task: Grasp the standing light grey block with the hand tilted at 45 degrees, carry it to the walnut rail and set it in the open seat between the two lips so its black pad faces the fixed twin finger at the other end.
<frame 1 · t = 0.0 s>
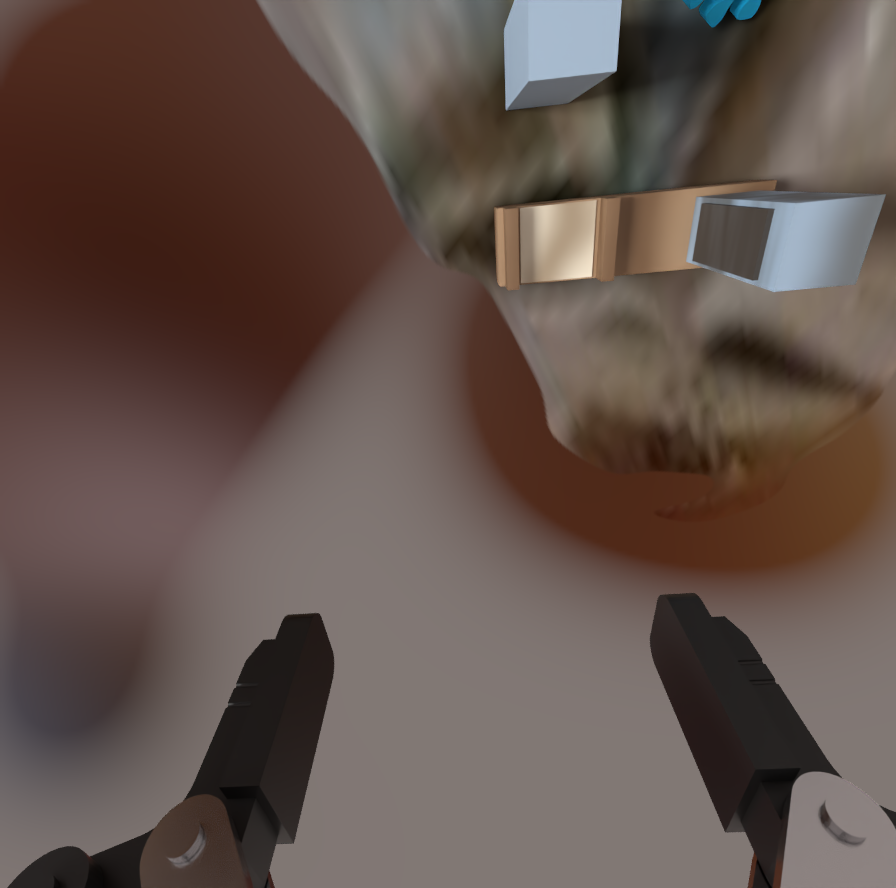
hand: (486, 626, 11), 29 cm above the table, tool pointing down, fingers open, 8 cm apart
light grey block: (536, 67, 29), on the table
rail: (619, 232, 33), on the table
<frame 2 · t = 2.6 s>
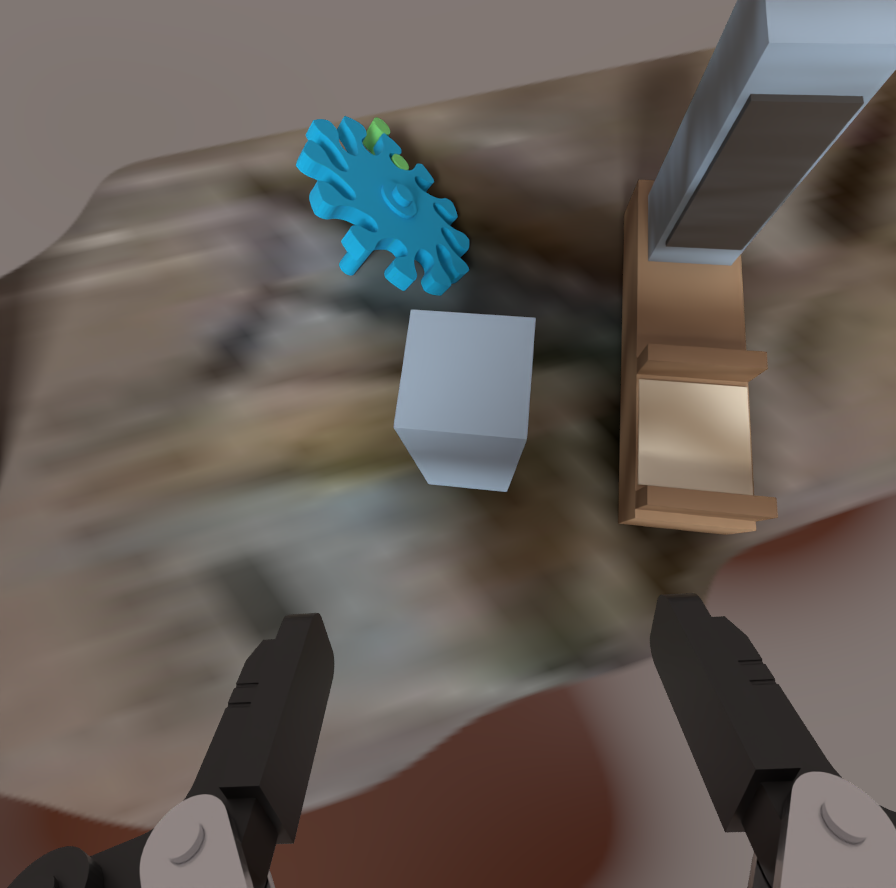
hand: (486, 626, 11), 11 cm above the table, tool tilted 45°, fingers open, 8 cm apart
light grey block: (471, 449, 24), on the table
gear: (403, 250, 28), on the table
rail: (669, 358, 24), on the table
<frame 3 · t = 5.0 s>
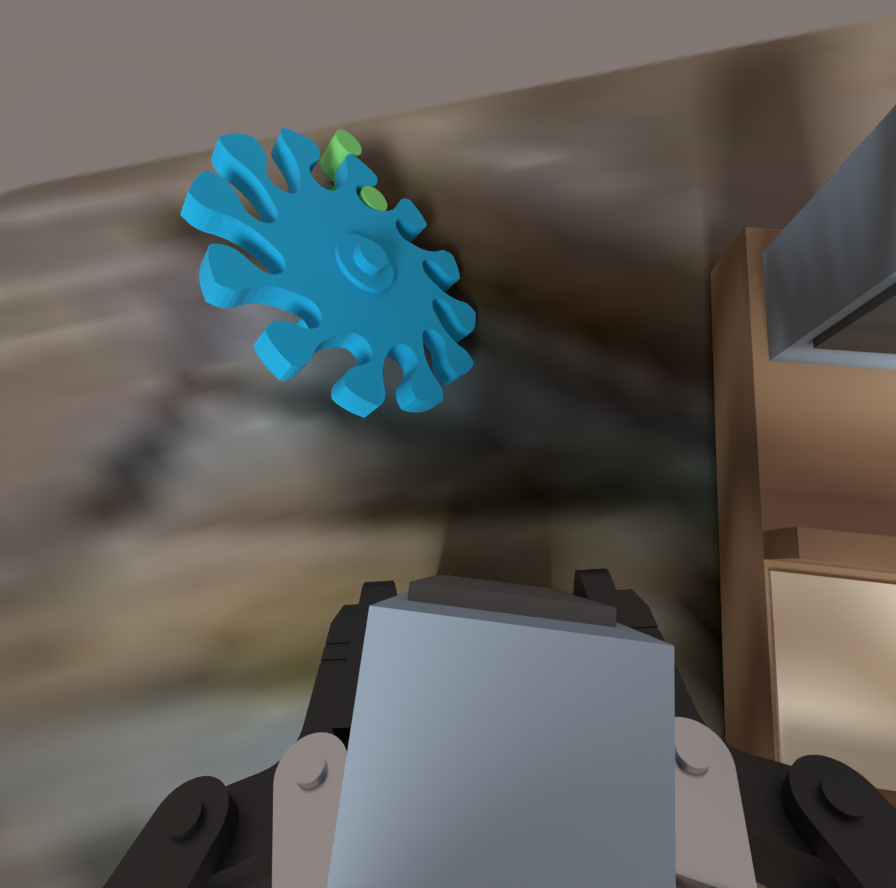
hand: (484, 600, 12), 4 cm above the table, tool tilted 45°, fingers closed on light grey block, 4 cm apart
light grey block: (487, 651, 15), on the table, touching gripper
gear: (379, 322, 19), on the table
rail: (793, 503, 16), on the table
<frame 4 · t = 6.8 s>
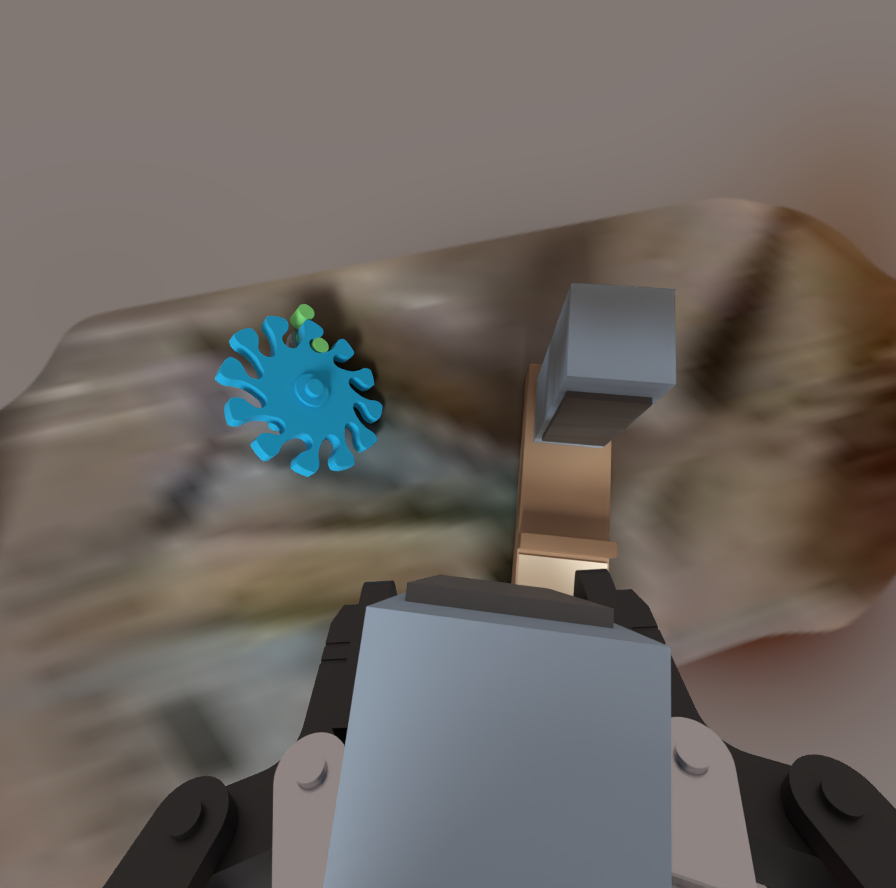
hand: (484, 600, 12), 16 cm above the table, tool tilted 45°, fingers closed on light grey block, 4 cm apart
light grey block: (485, 651, 15), point 12 cm above the table, touching gripper
gear: (327, 407, 31), on the table
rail: (556, 517, 28), on the table
when the fingers open (8 cm above the table, at t = 9.0 s): light grey block drops 1 cm, resting on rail.
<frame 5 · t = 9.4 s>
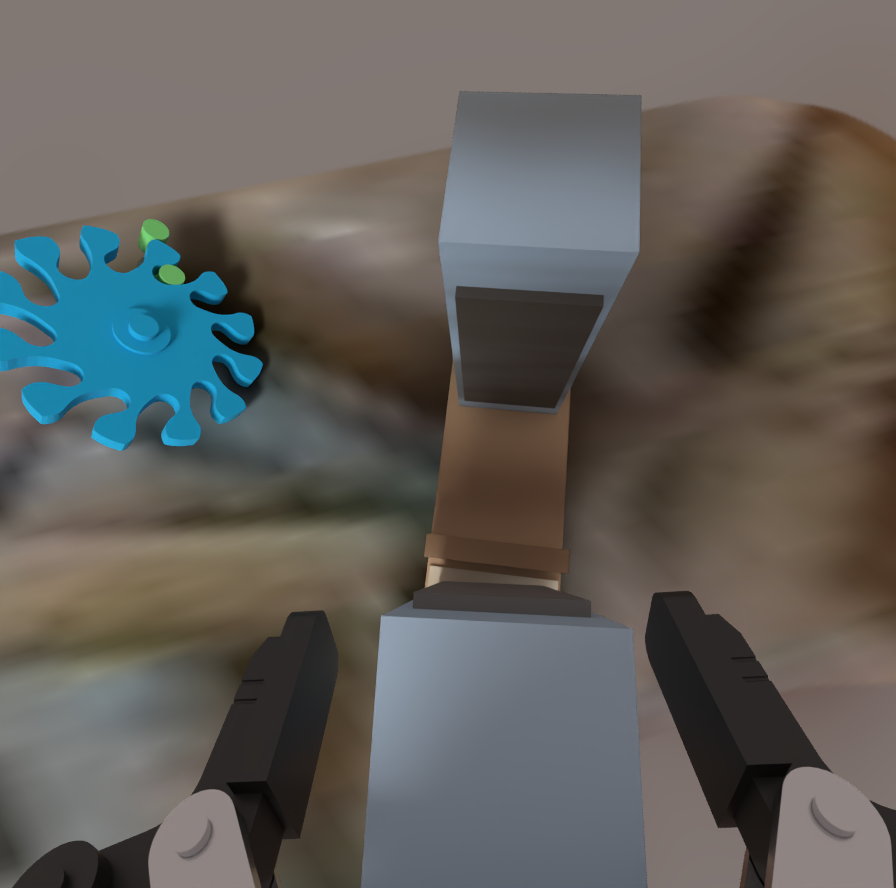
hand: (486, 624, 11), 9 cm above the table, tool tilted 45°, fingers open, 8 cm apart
light grey block: (490, 648, 16), point 3 cm above the table, touching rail
gear: (196, 365, 24), on the table
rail: (496, 514, 20), on the table
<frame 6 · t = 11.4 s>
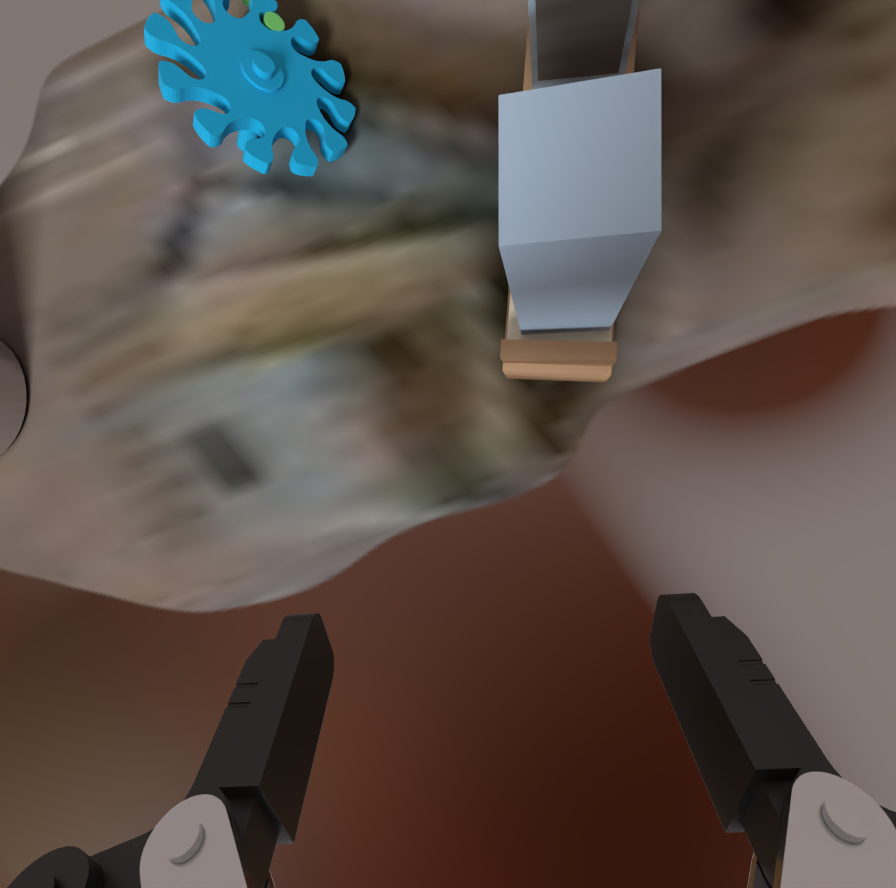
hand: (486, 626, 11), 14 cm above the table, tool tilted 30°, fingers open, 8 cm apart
light grey block: (564, 289, 21), point 3 cm above the table, touching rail
gear: (299, 123, 28), on the table
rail: (567, 208, 24), on the table
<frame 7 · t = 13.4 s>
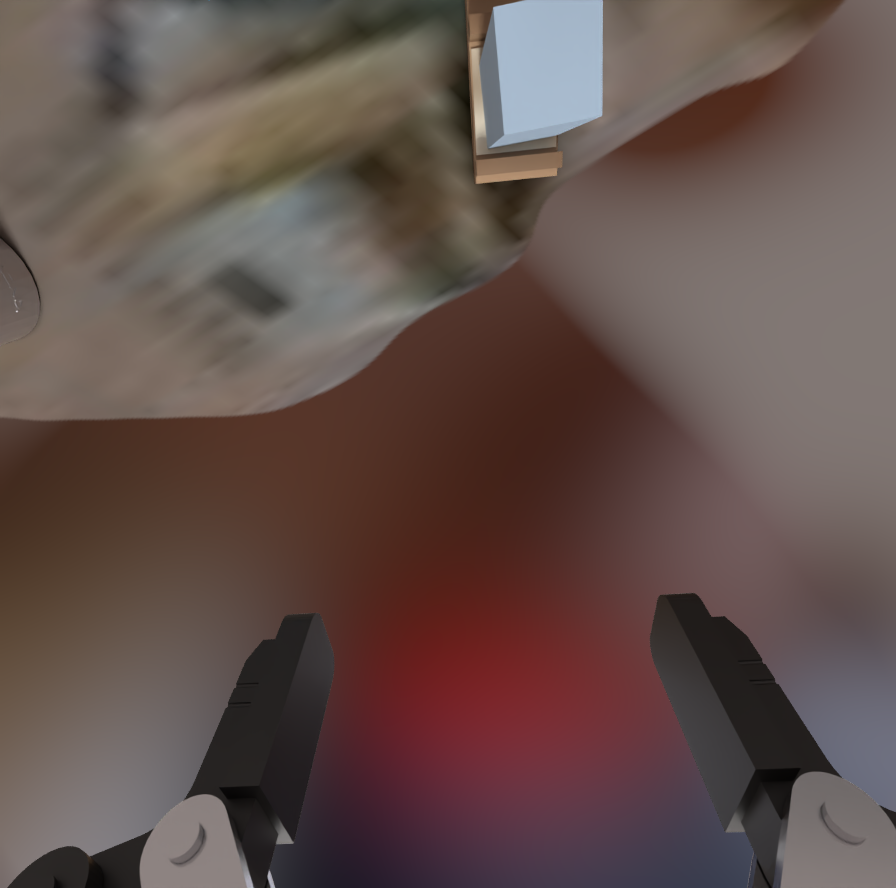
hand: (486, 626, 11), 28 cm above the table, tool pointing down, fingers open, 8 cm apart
light grey block: (517, 101, 26), point 3 cm above the table, touching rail
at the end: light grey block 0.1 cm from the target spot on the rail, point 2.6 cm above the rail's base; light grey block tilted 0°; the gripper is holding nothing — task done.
